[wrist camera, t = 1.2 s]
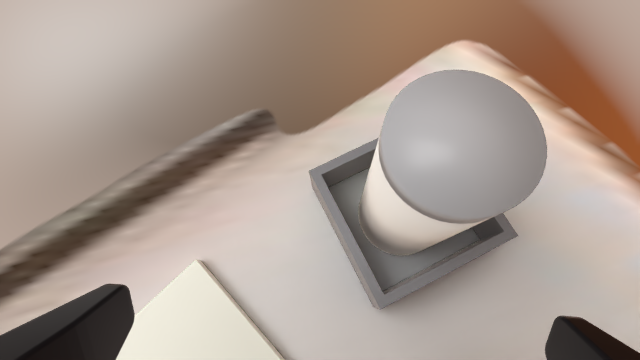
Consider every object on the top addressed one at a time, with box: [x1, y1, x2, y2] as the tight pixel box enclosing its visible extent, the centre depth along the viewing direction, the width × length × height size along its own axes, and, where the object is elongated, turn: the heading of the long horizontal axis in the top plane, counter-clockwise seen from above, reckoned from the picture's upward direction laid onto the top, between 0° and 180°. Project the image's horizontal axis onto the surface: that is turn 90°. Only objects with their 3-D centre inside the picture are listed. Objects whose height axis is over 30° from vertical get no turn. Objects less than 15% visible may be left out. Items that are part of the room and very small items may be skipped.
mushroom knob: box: [358, 70, 547, 256], centre depth 16 cm, size 5×5×11 cm
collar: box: [309, 138, 518, 309], centre depth 20 cm, size 8×8×3 cm
